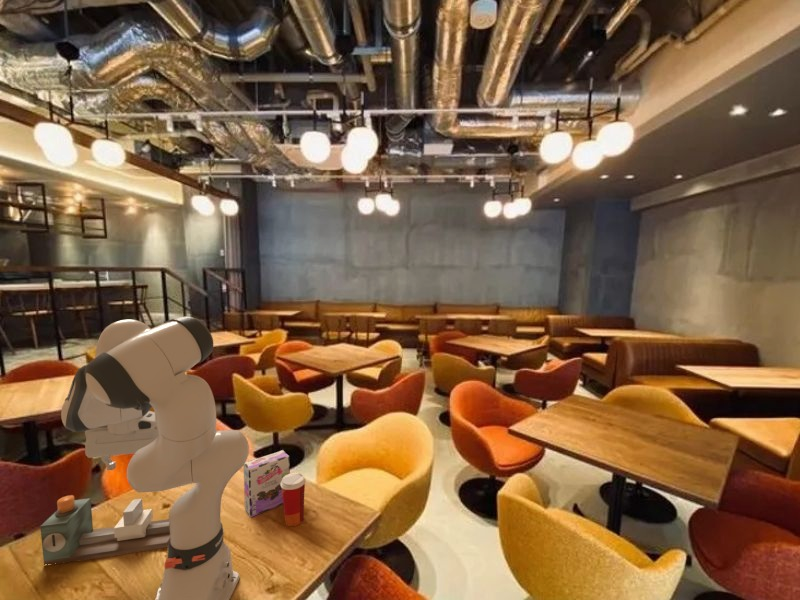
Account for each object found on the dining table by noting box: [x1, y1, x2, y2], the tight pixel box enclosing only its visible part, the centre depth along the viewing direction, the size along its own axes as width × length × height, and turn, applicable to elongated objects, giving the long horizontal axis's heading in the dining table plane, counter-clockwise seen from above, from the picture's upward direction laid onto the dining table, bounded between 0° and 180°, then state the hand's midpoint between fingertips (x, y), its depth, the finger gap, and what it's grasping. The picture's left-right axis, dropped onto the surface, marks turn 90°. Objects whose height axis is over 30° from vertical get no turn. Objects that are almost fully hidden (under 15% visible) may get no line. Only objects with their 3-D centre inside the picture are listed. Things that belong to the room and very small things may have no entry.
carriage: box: [113, 498, 154, 541], centre depth 109 cm, size 7×7×9 cm
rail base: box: [39, 497, 170, 566], centre depth 108 cm, size 12×30×12 cm, turn 103°
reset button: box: [56, 494, 76, 513], centre depth 105 cm, size 4×4×3 cm
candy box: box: [243, 449, 291, 518], centre depth 125 cm, size 14×6×16 cm, turn 129°
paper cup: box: [280, 472, 307, 527], centre depth 117 cm, size 8×8×14 cm
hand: (130, 466), depth 108 cm, fingers open, 8 cm apart
